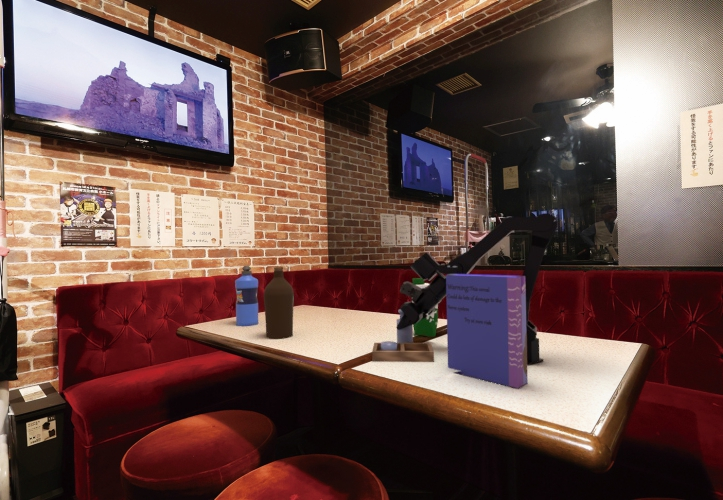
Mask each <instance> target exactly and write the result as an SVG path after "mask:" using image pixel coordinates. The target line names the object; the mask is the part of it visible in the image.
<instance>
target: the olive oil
mask: <svg viewBox="0 0 723 500" xmlns="http://www.w3.org/2000/svg"><path fill="white" fill-rule="evenodd" d="M283 269H284V267H283V266H275V267H273V278H272V279H271V280H270V281H269V283H268V284H267V285H266V286H265V287H264V288H265V289H264V292H263V302H264V303H263V305H264V316H265V317H264V318H265V336H266V338H267V339H275V340H276V339H277V340H280V339H287V338H290V337H292V336H293V334H294V298H295V297H294V296H295V293H294V289H293V287H292V285H291V284H290V283H289V282H288V281H287V280H286V278H284V270H283Z"/></svg>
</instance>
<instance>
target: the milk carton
mask: <svg viewBox="0 0 723 500" xmlns="http://www.w3.org/2000/svg"><path fill="white" fill-rule="evenodd" d="M412 284H414V285H416V286H418V287H420V288H425V287H427V286H428V285H429V284H430V283H428V282H425V281H424V280H423V279H422V278H421V277H413V278H412ZM411 302H413V301H412V300H411ZM413 303H414V302H413ZM438 307H439V303H438V304H437V305H436V306H435V311H434V312H433V313H432V314H431V315H428V314H426V315H427V317H426V318H424V319H422V320H420V321H419V322H418V323H416V324H413V336H415V335H425V336H427V337H428V338H431V337H432V338H436V336H437V335H436V334H437V329H438V322H439V321H438V320H439V308H438Z"/></svg>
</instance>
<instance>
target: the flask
mask: <svg viewBox="0 0 723 500" xmlns="http://www.w3.org/2000/svg"><path fill="white" fill-rule="evenodd" d="M397 311H398V313H399V318H397V319H396V326H397V325H398V324H399V322H400V320H401V318H402V317H403V315H404V313H403V311H402V310H401V309H400V308H399V309H398V310H397ZM413 336H414V328H413V325H411V326H408V327H405V328H403V329H401V330H398V329H397V328H396V343H414V337H413Z"/></svg>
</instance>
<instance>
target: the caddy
mask: <svg viewBox="0 0 723 500" xmlns="http://www.w3.org/2000/svg"><path fill="white" fill-rule="evenodd" d="M396 343H397V342H396ZM371 353H372V354H371V355H372V356H371V358H372V360H371V361H372V362H393V363H395V362H398V363H400V362H403V363H405V362H408V363H410V362H411V363H422V362H423V363H434V362H435V355H434V353H435V351H434V349H433V347H432V343H431V342H413V343H397V351H381V342H374V344H373V347H372V351H371Z"/></svg>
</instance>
